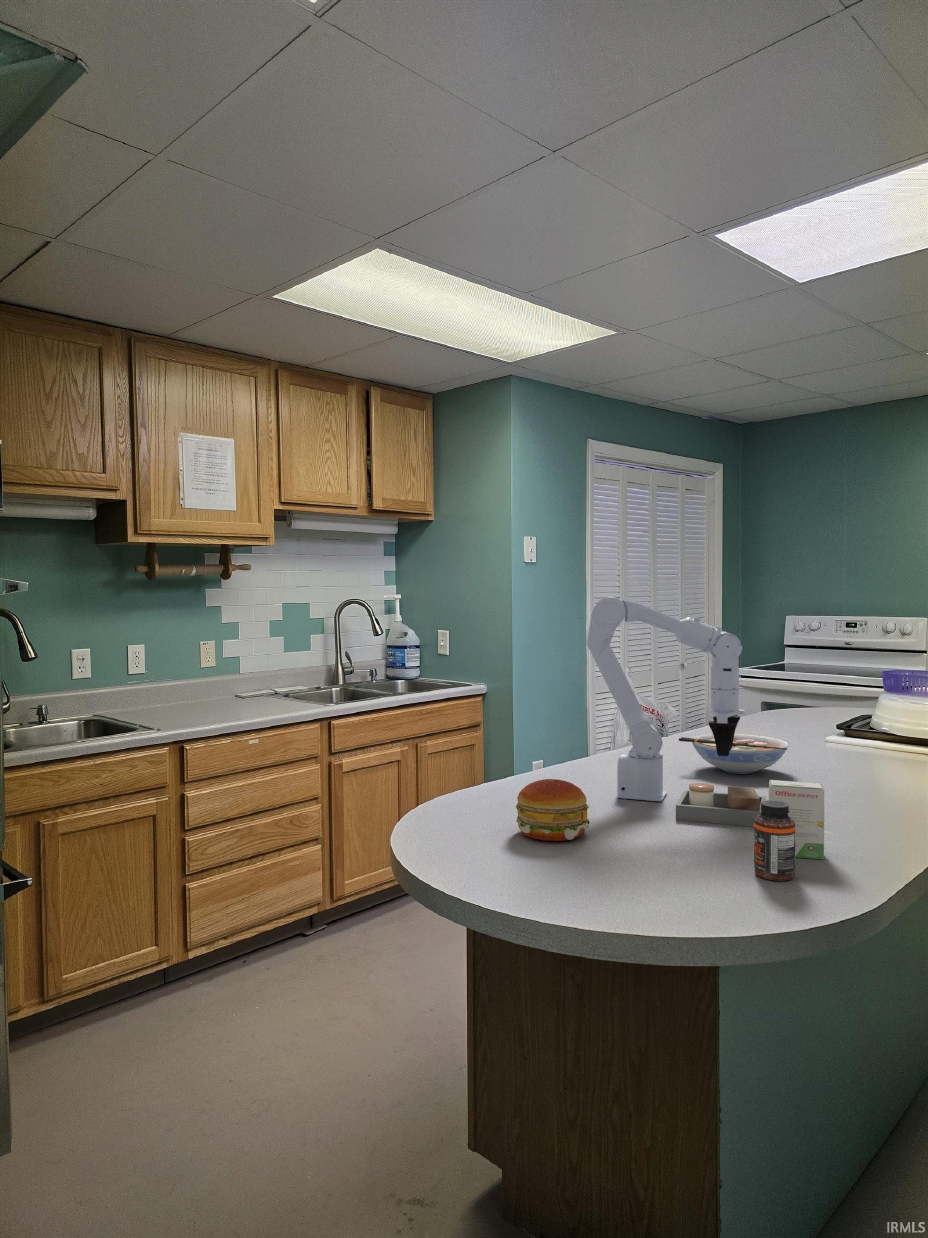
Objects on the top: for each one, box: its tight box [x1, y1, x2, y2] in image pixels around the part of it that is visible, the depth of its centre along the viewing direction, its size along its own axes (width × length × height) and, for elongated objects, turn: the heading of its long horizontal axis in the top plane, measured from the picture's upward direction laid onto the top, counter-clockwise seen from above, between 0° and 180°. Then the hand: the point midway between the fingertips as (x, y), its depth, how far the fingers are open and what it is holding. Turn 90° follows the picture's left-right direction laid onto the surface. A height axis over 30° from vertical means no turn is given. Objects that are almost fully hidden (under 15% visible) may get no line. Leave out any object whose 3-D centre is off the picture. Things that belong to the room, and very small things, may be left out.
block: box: [727, 786, 760, 811], centre depth 159 cm, size 5×9×5 cm, turn 167°
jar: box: [688, 782, 715, 807], centre depth 162 cm, size 5×5×6 cm
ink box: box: [768, 779, 825, 860], centre depth 137 cm, size 9×5×12 cm, turn 71°
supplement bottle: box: [753, 799, 796, 882], centre depth 126 cm, size 6×6×11 cm
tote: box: [675, 789, 767, 828], centre depth 161 cm, size 16×13×3 cm
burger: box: [515, 778, 591, 842], centre depth 149 cm, size 14×14×10 cm
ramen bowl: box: [678, 733, 789, 775], centre depth 201 cm, size 25×23×8 cm
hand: (724, 752), depth 173 cm, fingers open, 7 cm apart
